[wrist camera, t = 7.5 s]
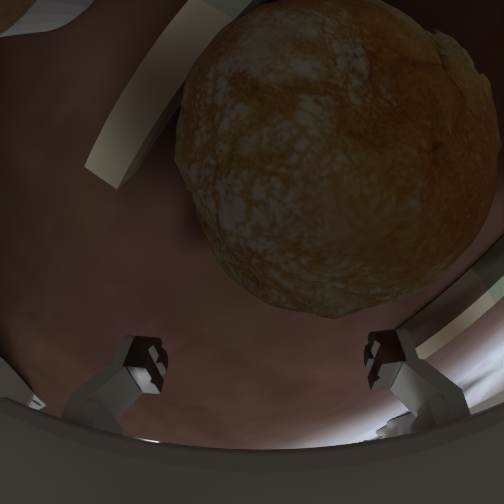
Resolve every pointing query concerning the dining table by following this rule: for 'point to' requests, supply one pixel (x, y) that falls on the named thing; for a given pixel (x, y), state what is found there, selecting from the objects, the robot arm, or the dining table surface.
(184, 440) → the dining table surface
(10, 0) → the coffee cup
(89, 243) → the dining table surface
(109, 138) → the channel
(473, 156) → the bread roll
